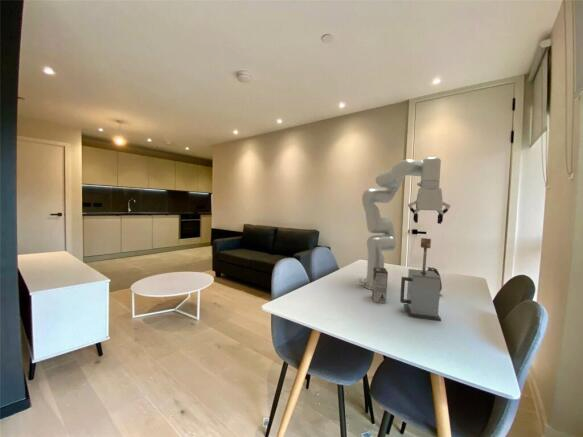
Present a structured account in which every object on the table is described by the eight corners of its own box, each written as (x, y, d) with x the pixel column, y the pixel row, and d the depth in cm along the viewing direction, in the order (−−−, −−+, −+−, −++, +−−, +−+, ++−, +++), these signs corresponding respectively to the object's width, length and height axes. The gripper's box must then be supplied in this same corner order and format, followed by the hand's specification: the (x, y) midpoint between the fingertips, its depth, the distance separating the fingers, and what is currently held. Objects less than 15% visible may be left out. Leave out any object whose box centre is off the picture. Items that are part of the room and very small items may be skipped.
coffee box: (371, 295, 139) (373, 267, 138) (383, 297, 137) (385, 267, 136) (373, 302, 130) (375, 271, 129) (386, 303, 128) (388, 272, 127)
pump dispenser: (436, 291, 150) (437, 265, 149) (444, 297, 140) (446, 270, 139) (418, 289, 151) (419, 264, 150) (425, 296, 141) (427, 269, 140)
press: (402, 315, 114) (404, 274, 113) (397, 304, 127) (400, 267, 126) (440, 321, 110) (444, 278, 109) (432, 309, 123) (435, 270, 122)
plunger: (414, 283, 114) (417, 239, 113) (410, 278, 123) (413, 236, 122) (436, 286, 112) (439, 240, 111) (431, 280, 121) (434, 238, 119)
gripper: (410, 184, 113) (408, 222, 114) (454, 185, 109) (451, 224, 110) (407, 185, 120) (405, 221, 121) (448, 186, 116) (445, 223, 117)
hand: (427, 223), depth 115 cm, fingers open, 9 cm apart
